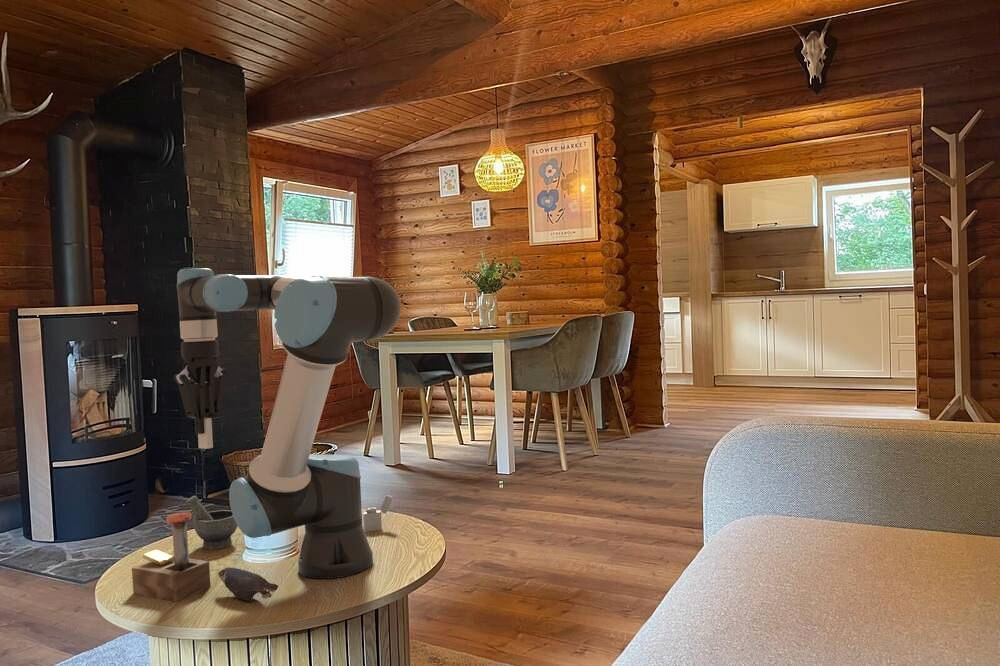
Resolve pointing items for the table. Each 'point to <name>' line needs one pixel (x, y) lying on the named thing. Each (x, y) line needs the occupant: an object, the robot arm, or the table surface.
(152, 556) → the golden rectangular bar
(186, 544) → the red-capped peg
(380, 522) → the lighter
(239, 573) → the bird model
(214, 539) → the mortar and pestle
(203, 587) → the block
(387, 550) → the table surface
